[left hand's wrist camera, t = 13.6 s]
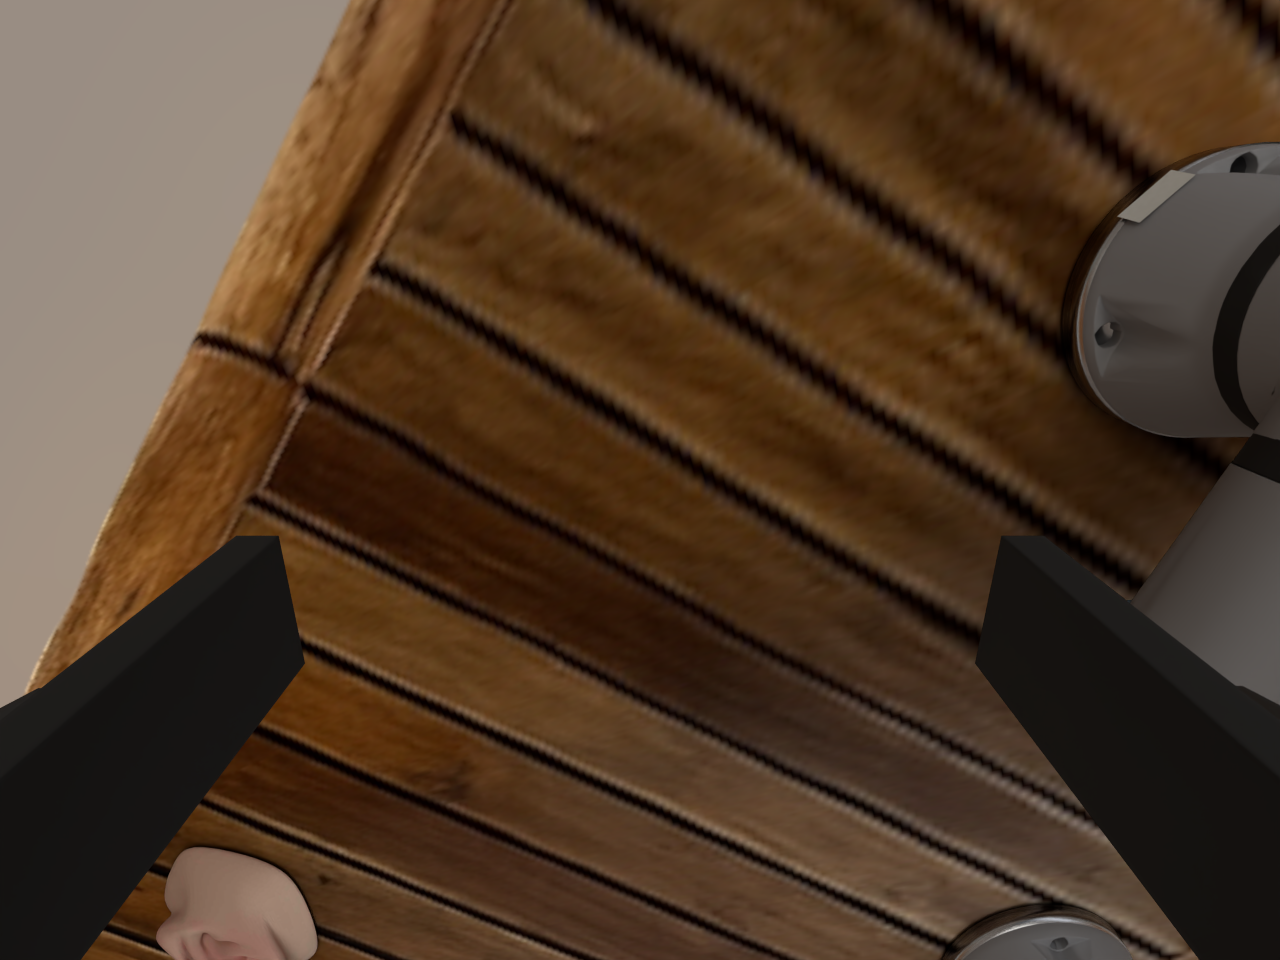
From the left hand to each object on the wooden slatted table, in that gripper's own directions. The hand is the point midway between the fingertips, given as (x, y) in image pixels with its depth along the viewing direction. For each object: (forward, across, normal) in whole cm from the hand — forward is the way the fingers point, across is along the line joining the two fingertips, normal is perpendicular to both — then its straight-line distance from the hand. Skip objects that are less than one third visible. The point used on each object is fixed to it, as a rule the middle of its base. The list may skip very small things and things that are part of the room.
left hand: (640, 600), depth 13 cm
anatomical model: (+28, -32, -45) cm, 62 cm away
